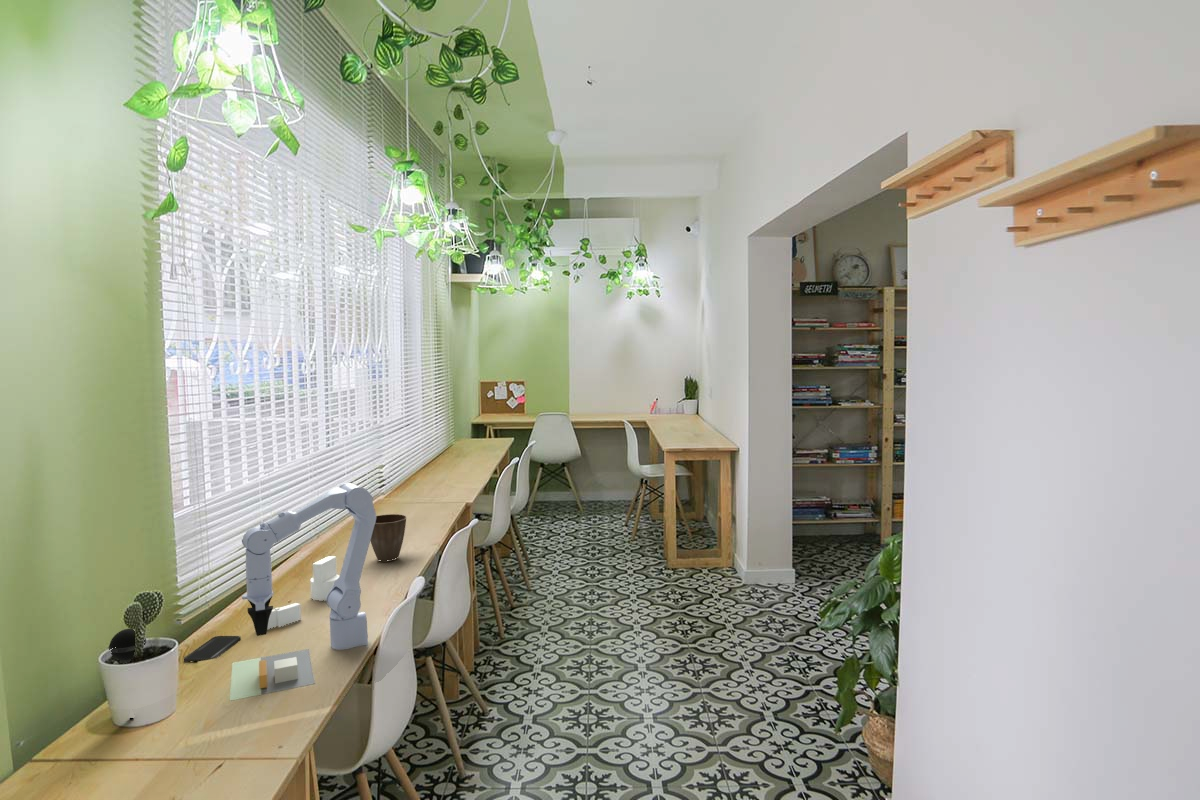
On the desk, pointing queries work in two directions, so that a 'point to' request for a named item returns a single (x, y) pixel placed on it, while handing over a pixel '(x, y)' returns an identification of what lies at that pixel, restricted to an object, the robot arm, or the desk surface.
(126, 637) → the black bowler hat
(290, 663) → the plug block
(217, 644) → the phone
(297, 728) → the desk surface
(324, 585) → the cylinder with rectangular tab
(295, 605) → the napkin holder
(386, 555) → the plant pot
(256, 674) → the green and grey board
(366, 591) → the desk surface
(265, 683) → the bar
